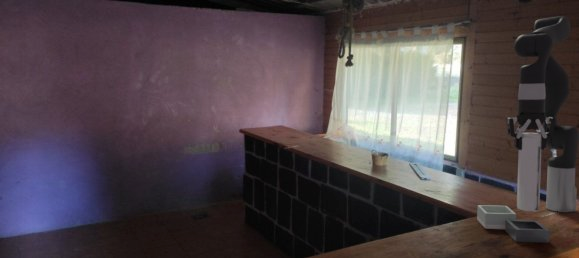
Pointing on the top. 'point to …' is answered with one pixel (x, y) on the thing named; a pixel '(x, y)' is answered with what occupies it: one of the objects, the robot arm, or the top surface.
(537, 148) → the air filter
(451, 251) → the top surface
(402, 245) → the top surface
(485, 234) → the top surface
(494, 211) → the white open box
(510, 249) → the top surface
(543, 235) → the socket
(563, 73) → the robot arm
